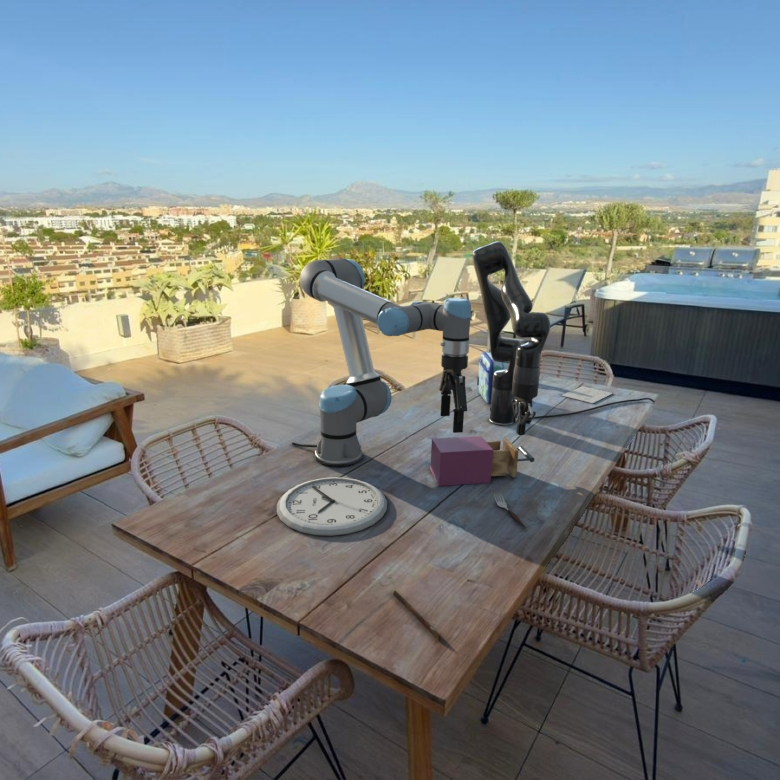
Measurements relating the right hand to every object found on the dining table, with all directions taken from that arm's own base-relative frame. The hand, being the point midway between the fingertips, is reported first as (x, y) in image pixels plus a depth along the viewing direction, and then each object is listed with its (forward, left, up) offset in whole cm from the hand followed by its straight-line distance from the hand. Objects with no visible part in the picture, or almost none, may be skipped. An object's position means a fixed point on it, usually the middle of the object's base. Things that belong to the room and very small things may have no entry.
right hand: (520, 434), depth 160 cm
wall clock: (+59, +7, -13) cm, 61 cm away
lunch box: (-24, -69, -13) cm, 74 cm away
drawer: (+7, -1, -12) cm, 14 cm away
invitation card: (-70, -67, -13) cm, 98 cm away
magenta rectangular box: (+18, -2, -13) cm, 23 cm away
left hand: (+22, -2, +4) cm, 23 cm away
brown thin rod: (+50, +53, -13) cm, 74 cm away
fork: (+14, +22, -13) cm, 29 cm away
